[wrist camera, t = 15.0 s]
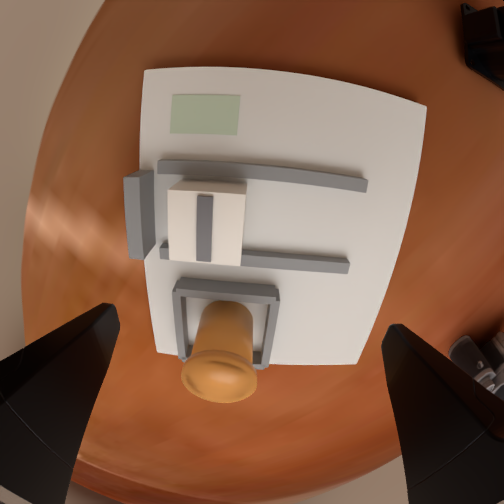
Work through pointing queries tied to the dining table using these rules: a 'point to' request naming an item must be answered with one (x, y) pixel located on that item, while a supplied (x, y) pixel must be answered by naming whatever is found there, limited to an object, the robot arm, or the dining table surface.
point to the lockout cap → (222, 354)
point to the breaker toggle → (206, 221)
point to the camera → (482, 361)
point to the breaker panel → (277, 204)
